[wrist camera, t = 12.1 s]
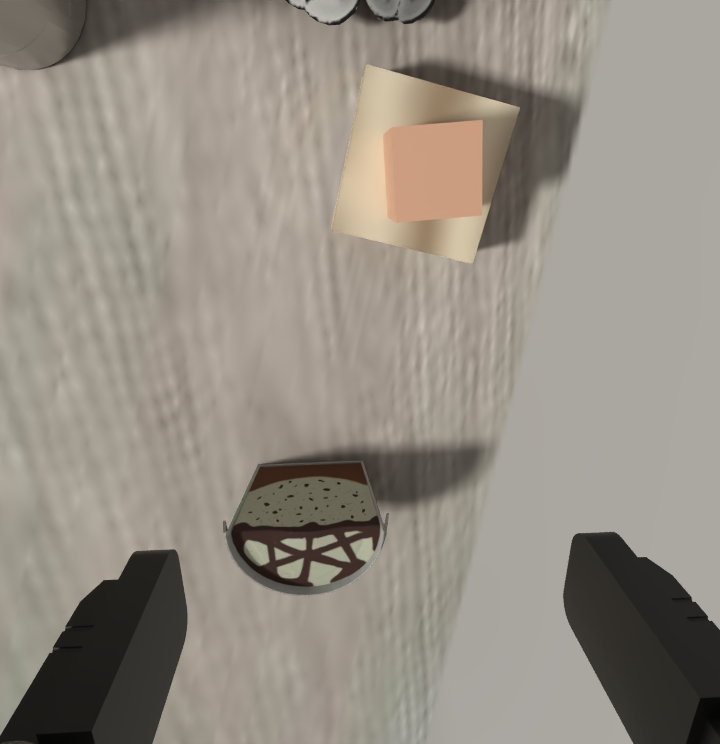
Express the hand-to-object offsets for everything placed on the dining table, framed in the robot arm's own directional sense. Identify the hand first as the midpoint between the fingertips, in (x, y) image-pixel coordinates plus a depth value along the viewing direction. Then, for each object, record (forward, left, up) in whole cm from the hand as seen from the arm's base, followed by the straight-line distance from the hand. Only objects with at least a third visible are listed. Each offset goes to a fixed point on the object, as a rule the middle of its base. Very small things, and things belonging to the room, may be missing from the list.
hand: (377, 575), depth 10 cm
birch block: (+5, +8, -32) cm, 34 cm away
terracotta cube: (+5, +8, -27) cm, 29 cm away
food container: (-3, -19, -32) cm, 37 cm away
